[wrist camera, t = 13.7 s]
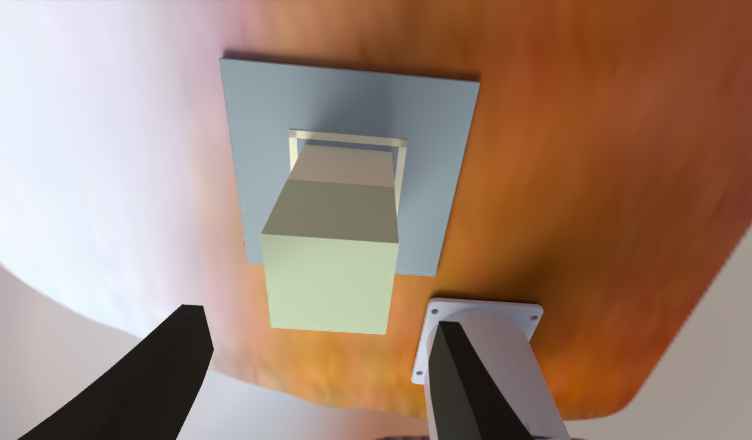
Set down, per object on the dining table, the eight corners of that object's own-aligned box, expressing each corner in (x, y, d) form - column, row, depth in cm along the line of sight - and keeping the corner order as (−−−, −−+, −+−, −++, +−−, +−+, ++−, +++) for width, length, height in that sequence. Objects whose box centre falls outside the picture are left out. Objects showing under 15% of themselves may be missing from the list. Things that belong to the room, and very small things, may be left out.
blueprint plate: (434, 272, 23) (435, 277, 23) (249, 259, 23) (247, 264, 22) (478, 81, 17) (480, 83, 16) (222, 57, 16) (218, 58, 16)
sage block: (384, 268, 17) (385, 334, 14) (291, 262, 17) (271, 327, 14) (394, 187, 15) (399, 243, 12) (287, 179, 15) (260, 233, 11)
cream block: (382, 224, 21) (383, 268, 17) (305, 217, 21) (291, 261, 17) (391, 152, 18) (394, 187, 15) (304, 144, 18) (287, 178, 15)
